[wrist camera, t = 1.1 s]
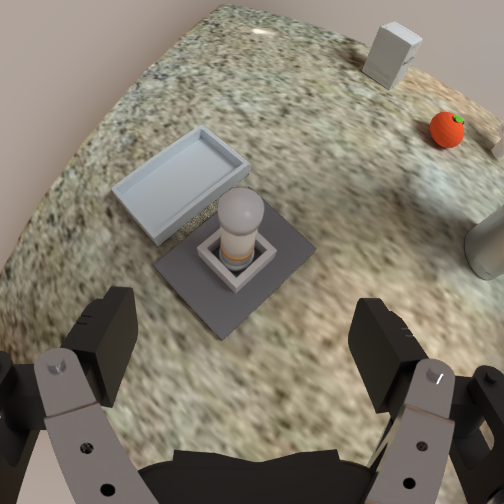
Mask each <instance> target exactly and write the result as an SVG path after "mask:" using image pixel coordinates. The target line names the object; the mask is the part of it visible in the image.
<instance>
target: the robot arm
mask: <svg viewBox="0 0 504 504" xmlns="http://www.w3.org/2000/svg"><path fill="white" fill-rule="evenodd" d="M465 253H466V257H467V260H468V262H469V264H470V266H471V268H472V269H473V270H474V272H475V273H476V274H477V275H478V276H479V277H481V278H482V279H485V280H492V279H494V278H496V277H498V276H500V275H502V274H504V205H503V206H501V207H500V208H499V209H498V210H496V211H495V212H494V213H492V214H491V215H490V216H489V217H487V218H486V219H485V220H483V221H482V222H480V223H479V224H478V225H476V226H475V227H474V228H472V229H471V230H470V231H469V232H468V233H467V235H466V238H465ZM137 336H138V322H137V314H136V307H135V299H134V292H133V289H132V288H130V287H117V286H111V287H110V288H109V290H108V292H107V293H106V295H105V296H104V298H103V299H96V300H94V301H93V302H92V303H90V304H89V305H87V306H86V308H85V309H84V311H83V312H82V314H81V317H79V318H78V320H77V321H76V324H74V326H73V328H72V329H71V331H70V332H69V334H68V335H67V337H66V338H65V340H64V342H63V343H62V345H61V346H60V348H54V349H50V350H47V351H45V352H44V353H42V354H41V355H40V356H39V357H38V358H37V359H36V361H35V364H17V365H14V364H13V362H12V359H11V357H10V356H9V354H8V353H6V352H4V351H0V416H1V418H0V504H16V502H17V499H18V495H19V491H20V488H21V485H22V482H23V479H24V475H25V472H26V469H27V466H28V463H29V460H30V457H31V454H32V451H33V449H34V446H35V443H36V440H37V438H38V435H39V432H40V430H47V431H48V435H49V438H50V440H51V444H52V447H53V449H54V452H55V455H56V458H57V460H58V463H59V466H60V468H61V471H62V473H63V475H64V478H65V480H66V482H67V485H68V487H69V490H70V492H71V494H72V496H73V498H74V501H75V503H76V504H435V502H436V498H437V495H438V492H439V489H440V485H441V482H442V478H443V475H444V471H445V467H446V463H447V459H448V455H449V456H450V458H451V461H452V463H453V466H454V468H455V471H456V473H457V476H458V478H459V481H460V483H461V486H462V489H463V491H464V494H465V497H466V500H467V502H468V504H504V375H503V373H501V372H500V371H499V370H498V369H496V368H494V367H491V366H487V365H483V366H479V367H478V368H477V369H476V370H475V372H474V374H473V376H472V377H464V376H455V374H454V372H453V370H452V369H451V368H450V367H449V366H448V365H447V364H445V363H444V362H442V361H439V360H436V359H429V358H428V356H427V355H426V353H425V352H424V350H423V349H422V347H421V346H420V344H419V343H418V341H417V340H416V338H415V337H414V336H413V334H412V332H411V331H410V330H409V329H408V327H407V325H406V324H405V322H404V321H403V320H402V318H400V317H399V316H398V315H396V314H395V313H394V312H392V311H389V310H388V309H387V307H386V306H385V304H384V303H383V301H382V300H381V299H380V298H360V299H359V300H358V302H357V305H356V309H355V313H354V316H353V320H352V323H351V327H350V331H349V335H348V345H349V349H350V351H351V354H352V356H353V358H354V361H355V363H356V365H357V368H358V370H359V373H360V375H361V377H362V380H363V382H364V385H365V387H366V389H367V392H368V394H369V397H370V399H371V402H372V404H373V407H374V409H375V412H376V414H378V413H385V412H389V413H390V418H389V420H388V421H387V424H386V426H385V428H384V430H383V433H382V435H381V437H380V439H379V442H378V444H377V446H376V448H375V450H374V452H373V454H372V456H371V458H370V460H369V462H368V464H367V466H363V465H361V464H358V463H354V462H351V461H345V460H340V459H339V455H338V451H337V449H334V450H324V451H313V452H299V453H295V454H292V455H288V456H284V457H280V458H276V459H272V460H268V461H264V462H251V461H247V460H242V459H238V458H233V457H229V456H225V455H221V454H217V453H207V452H193V451H181V450H174V455H173V460H172V461H165V462H160V463H156V464H153V465H149V466H147V467H145V468H142V469H140V470H138V471H137V470H136V469H135V467H134V465H133V464H132V462H131V460H130V459H129V457H128V455H127V454H126V452H125V450H124V449H123V447H122V445H121V443H120V442H119V440H118V438H117V436H116V434H115V433H114V431H113V429H112V427H111V425H110V423H109V421H108V419H107V418H106V416H105V414H104V412H103V410H102V408H101V406H104V407H110V408H112V407H113V404H114V401H115V398H116V396H117V393H118V390H119V387H120V384H121V381H122V379H123V376H124V373H125V370H126V367H127V365H128V362H129V359H130V357H131V354H132V351H133V349H134V346H135V343H136V341H137ZM485 420H486V422H487V424H488V426H489V427H490V429H491V431H492V433H493V435H494V439H495V442H494V446H493V449H492V450H491V451H490V449H489V447H488V445H487V443H486V441H485V439H484V437H483V435H482V433H481V431H480V429H479V427H480V426H481V425H482V423H483V422H484V421H485Z"/></svg>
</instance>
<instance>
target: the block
mask: <svg viewBox="0 0 504 504" xmlns="http://www.w3.org/2000/svg"><path fill="white" fill-rule="evenodd" d="M247 189H250V190H252V189H251V188H250V187H248V188H247ZM252 191H253V190H252ZM261 199H262V198H261ZM262 201H263V203H264V214H263V218H262V222H261V225H260V226H259V228H258V230H257V235H256V240H255V246H254V257H253V261H252V264H251V265H250V266H249V267H248V268H247V269H246V270H245V271H243V272H239V273H234V272H230V271H229V270H228V269H227V268H226V267H225V266H224V265H223V264H222V263H221V262H220V256H219V250H220V240H221V229H220V223H219V220H218V212H217V213H215V214H214V215H213V216H212V217H211V218H209V219H208V220H207V221H206V222H204V223H203V224H202V225H201V226H200V227H198V228H197V229H196V230H195V231H193V232H192V233H191V234H190V235H189V236H187V237H186V238H185V239H184V240H183V241H181V242H180V243H179V244H178V245H177V246H175V247H174V248H173V249H172V250H171V251H170V252H168V253H167V254H166V255H165V256H164V257H162V258H161V259H160V260H159V261H158V262H157V263H155V264H154V267H155V268H156V269H157V271H158V272H159V273H160V274H161V275H162V276H163V277H164V279H165V280H166V281H167V282H168V283H169V284H170V285H171V286H172V288H173V289H174V290H175V291H176V292H177V293H178V294H179V295H180V296H181V298H182V299H183V300H184V301H185V302H186V303H187V304H188V305H189V306H190V307H191V308H192V310H193V311H194V312H195V313H196V314H197V315H198V316H199V317H200V318H201V319H202V320H203V321H204V322H205V323H206V325H207V326H208V327H209V328H210V329H211V330H212V331H213V332H214V333H215V334H216V335H217V336H218V337H219V338H220V339H221V340H222V341H223V340H224V339H225V338H226V337H227V336H228V335H229V334H230V333H231V332H232V331H233V330H234V329H235V328H237V327H238V326H239V325H240V324H241V323H242V322H243V321H244V320H245V319H246V318H247V317H248V316H249V315H250V314H251V313H252V312H253V311H254V310H255V309H257V308H258V307H259V306H260V305H261V304H262V303H263V302H264V301H265V300H266V299H267V298H268V297H269V296H270V295H271V294H272V293H273V292H274V291H275V290H276V289H277V288H278V287H279V286H280V285H281V284H282V283H283V282H284V281H285V280H286V279H287V278H288V277H290V276H291V275H292V274H293V273H294V272H295V271H296V270H297V269H298V268H299V267H300V266H301V265H302V264H303V263H304V262H305V261H306V260H307V259H308V258H309V257H310V256H311V255H312V254H313V253H314V251H315V250H316V248H315V247H314V246H313V245H312V244H311V243H310V242H309V241H308V240H307V239H306V238H305V237H304V236H303V235H301V234H300V233H299V232H298V231H297V230H296V229H295V228H294V227H293V226H292V225H291V224H290V223H288V222H287V221H286V220H285V219H284V218H283V217H282V216H281V215H280V214H279V213H278V212H276V211H275V210H274V209H273V208H272V207H271V206H270V205H269V204H268V203H266V202H265V201H264V200H263V199H262Z"/></svg>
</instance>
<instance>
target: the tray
mask: <svg viewBox="0 0 504 504" xmlns="http://www.w3.org/2000/svg"><path fill="white" fill-rule="evenodd" d="M249 167H250V163H248V162H247V161H246V160H245V159H244V158H243V157H241V156H240V155H239V154H238V153H237V152H235V151H234V150H233V149H232V148H230V147H229V146H228V145H227V144H226V143H224V142H223V141H222V140H221V139H219V138H218V137H217V136H216V135H214V134H213V133H212V132H211V131H209V130H208V129H207V128H206V127H204V126H203V125H200V126H198V127H197V128H195V129H194V130H192V131H191V132H189V133H188V134H186V135H184V136H183V137H181V138H180V139H178V140H177V141H175V142H174V143H172V144H171V145H170V146H168V147H167V148H165V149H164V150H162V151H161V152H159V153H158V154H157V155H155V156H154V157H152V158H151V159H149V160H148V161H147V162H145V163H144V164H143V165H141V166H140V167H138V168H137V169H136V170H134V171H133V172H132V173H130V174H129V175H128V176H126V177H125V178H124V179H122V180H121V181H120V182H118V183H117V184H116V185H115V186H113V187H112V188H111V190H112V192H113V193H114V195H115V197H116V199H117V200H118V201H119V202H120V204H121V205H122V206H123V207H124V208H125V209H126V211H127V212H128V213H129V214H130V215H131V217H132V218H133V219H134V220H135V221H136V222H137V224H138V225H139V226H140V227H141V228H142V229H143V231H144V232H145V233H146V234H147V235H148V236H149V237H150V239H151V240H152V241H153V242H154V243H155V244H156V245H157V246H160V245H161V244H162V243H163V242H164V241H166V240H167V239H168V238H169V237H170V236H172V235H173V234H174V233H175V232H176V231H178V230H179V229H180V228H181V227H183V226H184V225H185V224H186V223H187V222H189V221H190V220H191V219H192V218H194V217H195V216H196V215H197V214H199V213H200V212H201V211H202V210H204V209H205V208H206V207H207V206H209V205H210V204H211V203H212V202H214V201H215V200H216V199H218V198H219V197H220V196H221V195H223V194H224V193H225V192H227V191H228V190H229V189H230V188H232V187H233V186H234V185H236V184H237V183H238V182H239V181H241V180H242V179H243V178H245V177H246V176H247V175H249Z"/></svg>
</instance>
